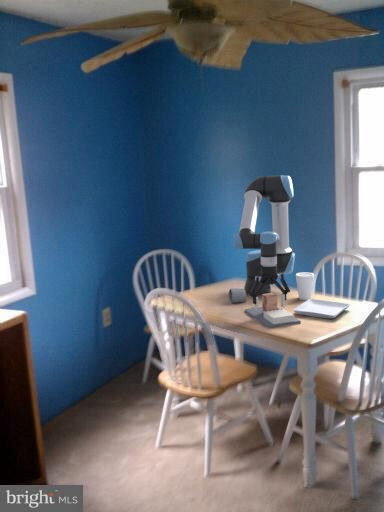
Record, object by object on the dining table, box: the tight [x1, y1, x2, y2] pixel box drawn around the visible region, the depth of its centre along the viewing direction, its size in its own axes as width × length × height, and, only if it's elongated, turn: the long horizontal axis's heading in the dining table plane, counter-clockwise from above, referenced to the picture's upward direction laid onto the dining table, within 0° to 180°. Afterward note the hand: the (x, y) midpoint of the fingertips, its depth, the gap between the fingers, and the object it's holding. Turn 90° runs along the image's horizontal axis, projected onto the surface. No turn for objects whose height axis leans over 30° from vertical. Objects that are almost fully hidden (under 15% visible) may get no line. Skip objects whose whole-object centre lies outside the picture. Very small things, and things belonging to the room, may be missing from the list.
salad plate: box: [292, 298, 351, 319], centre depth 255 cm, size 21×21×3 cm
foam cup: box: [295, 271, 315, 301], centre depth 280 cm, size 10×9×13 cm
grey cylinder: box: [228, 287, 247, 304], centre depth 281 cm, size 11×8×8 cm
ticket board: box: [243, 306, 302, 329], centre depth 251 cm, size 28×16×4 cm, turn 16°
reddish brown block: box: [261, 292, 278, 313], centre depth 252 cm, size 6×5×9 cm
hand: (269, 308), depth 252 cm, fingers open, 13 cm apart
